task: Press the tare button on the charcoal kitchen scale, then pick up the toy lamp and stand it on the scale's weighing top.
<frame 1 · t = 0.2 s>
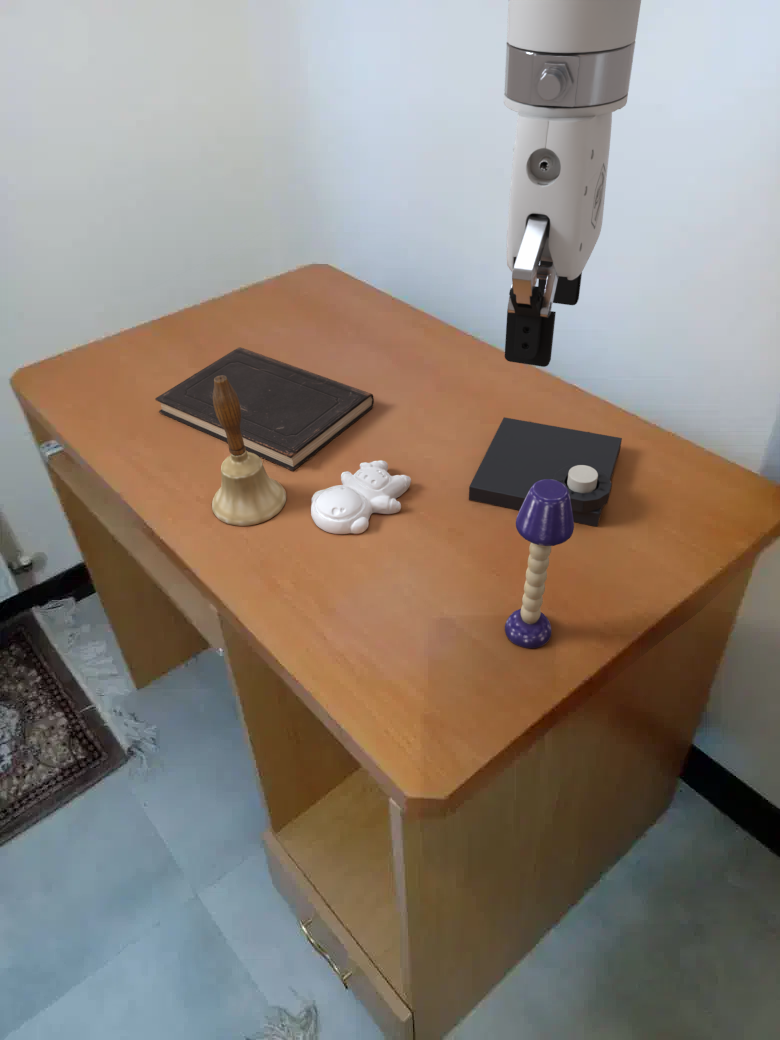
hand: (543, 330, 59), 27 cm above the table, tool pointing down, fingers open, 9 cm apart
hand bell: (249, 503, 88), on the table
hardcover book: (266, 411, 102), on the table
tare button: (582, 479, 82), point 4 cm above the table, slide at 0.1 cm
scale: (546, 474, 89), on the table
toy lamp: (531, 632, 72), on the table
white flat figure: (362, 503, 87), on the table
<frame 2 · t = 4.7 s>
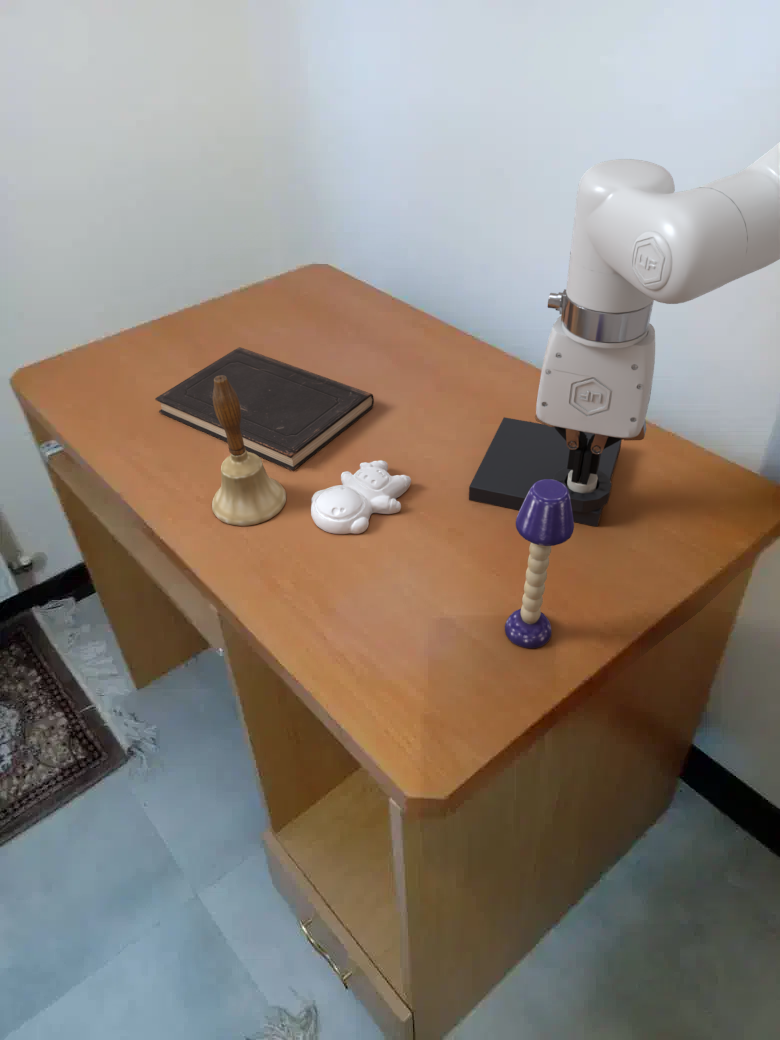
hand: (581, 475, 82), 4 cm above the table, tool pointing down, fingers closed
tare button: (582, 482, 83), point 4 cm above the table, slide at -0.3 cm, touching gripper
everything else where it was.
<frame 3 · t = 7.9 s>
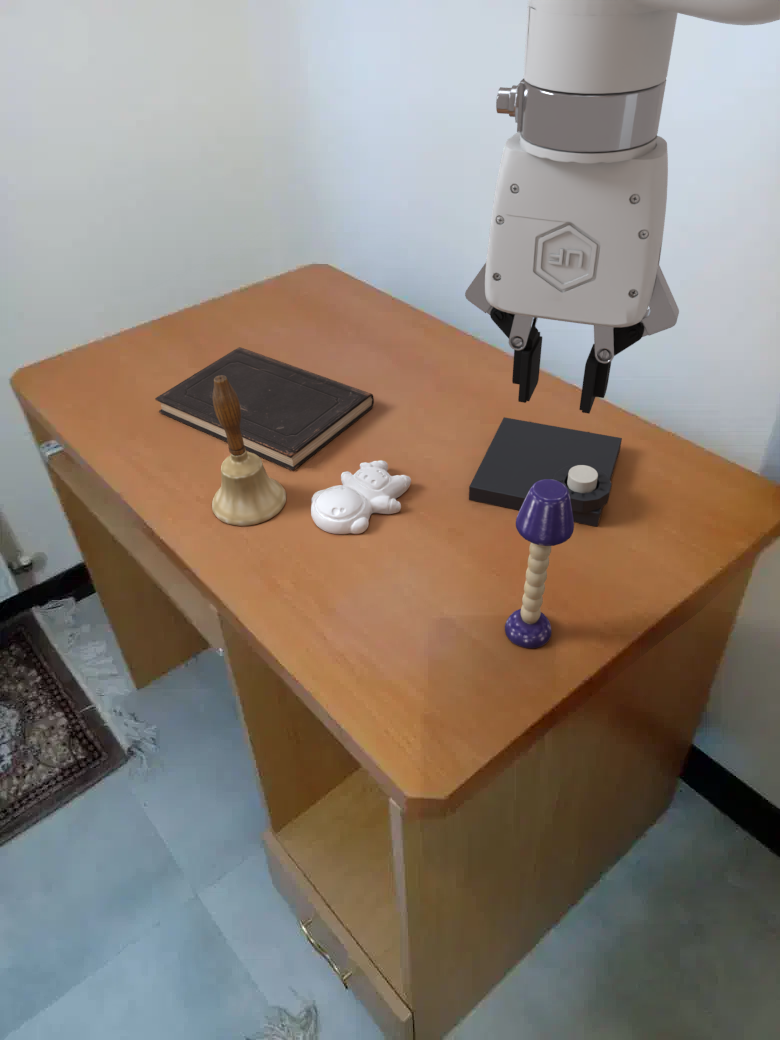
hand: (558, 395, 56), 25 cm above the table, tool pointing down, fingers open, 3 cm apart
tare button: (582, 479, 82), point 4 cm above the table, slide at 0.1 cm
everything else where it was.
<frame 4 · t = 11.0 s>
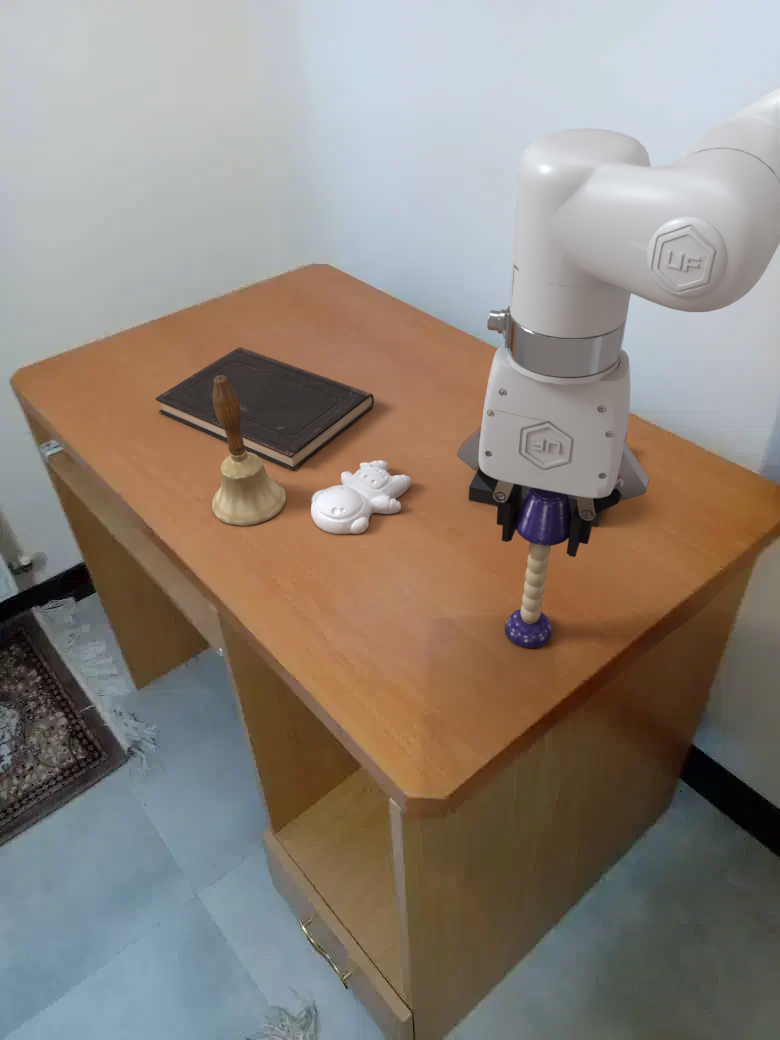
hand: (542, 536, 65), 12 cm above the table, tool pointing down, fingers closed on toy lamp, 4 cm apart
toy lamp: (531, 632, 72), on the table, touching gripper
everything else where it was.
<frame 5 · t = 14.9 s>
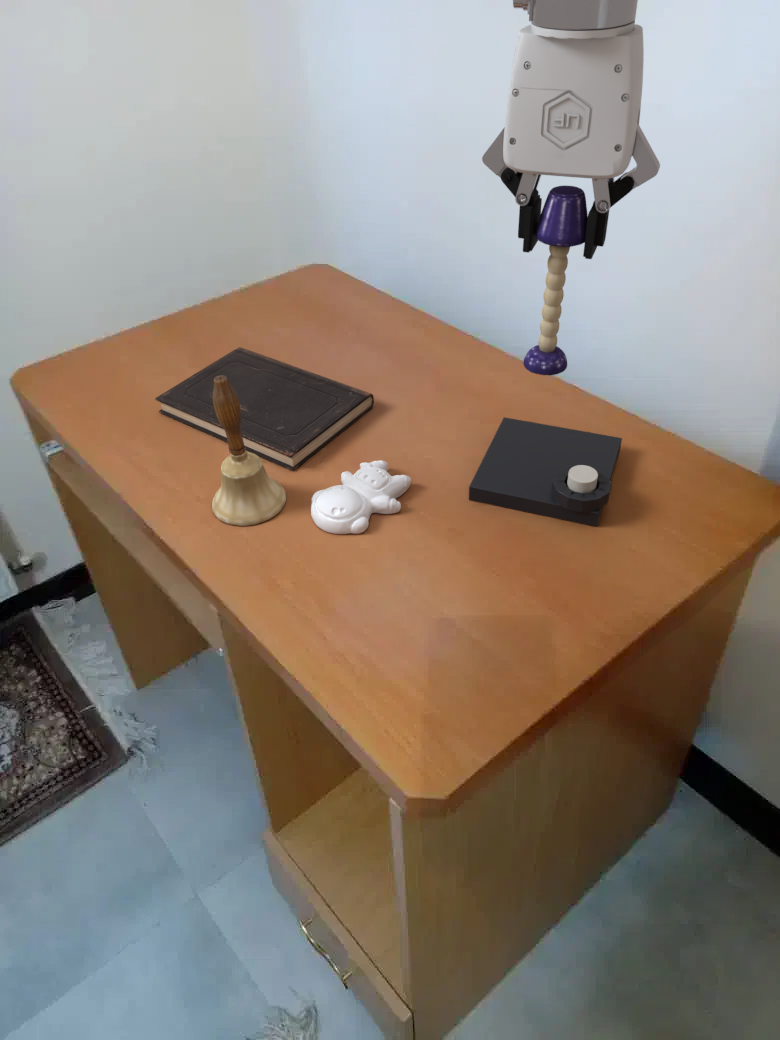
hand: (560, 247, 70), 27 cm above the table, tool pointing down, fingers closed on toy lamp, 4 cm apart
toy lamp: (548, 366, 78), point 15 cm above the table, touching gripper
everything else where it was.
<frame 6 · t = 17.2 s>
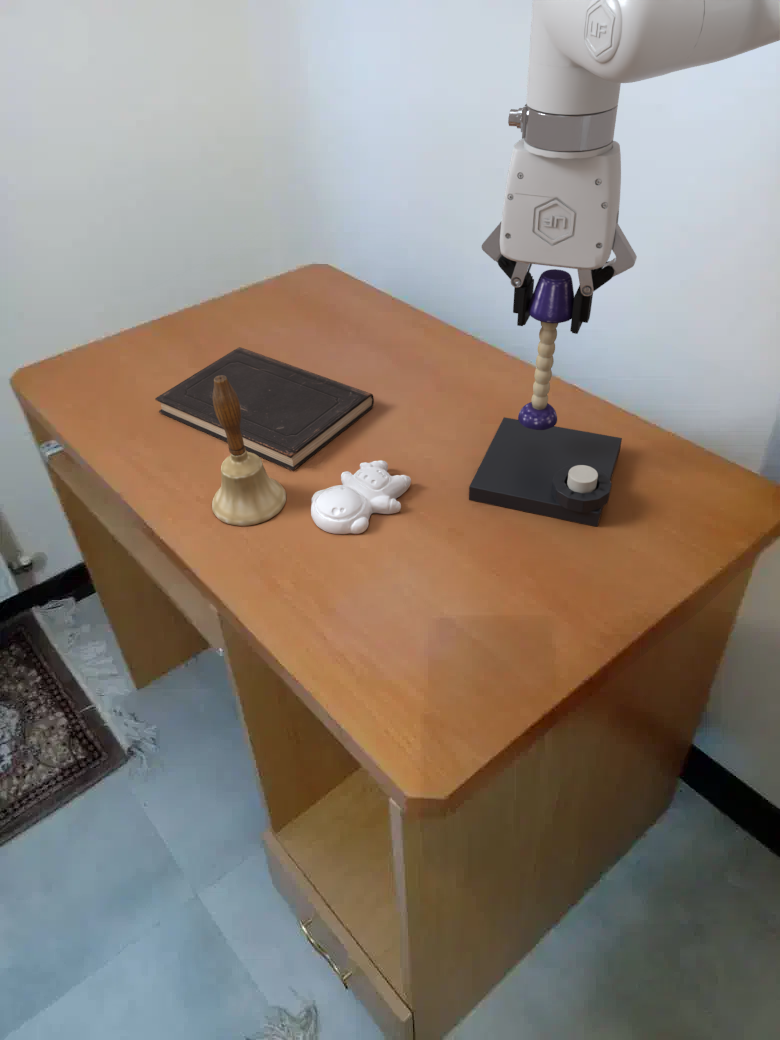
hand: (550, 321, 79), 18 cm above the table, tool pointing down, fingers closed on toy lamp, 4 cm apart
toy lamp: (540, 421, 87), point 6 cm above the table, touching gripper
everything else where it was.
when the fingers open (14 cm above the table, at t = 18.9 s): toy lamp stays where it is, resting on scale.
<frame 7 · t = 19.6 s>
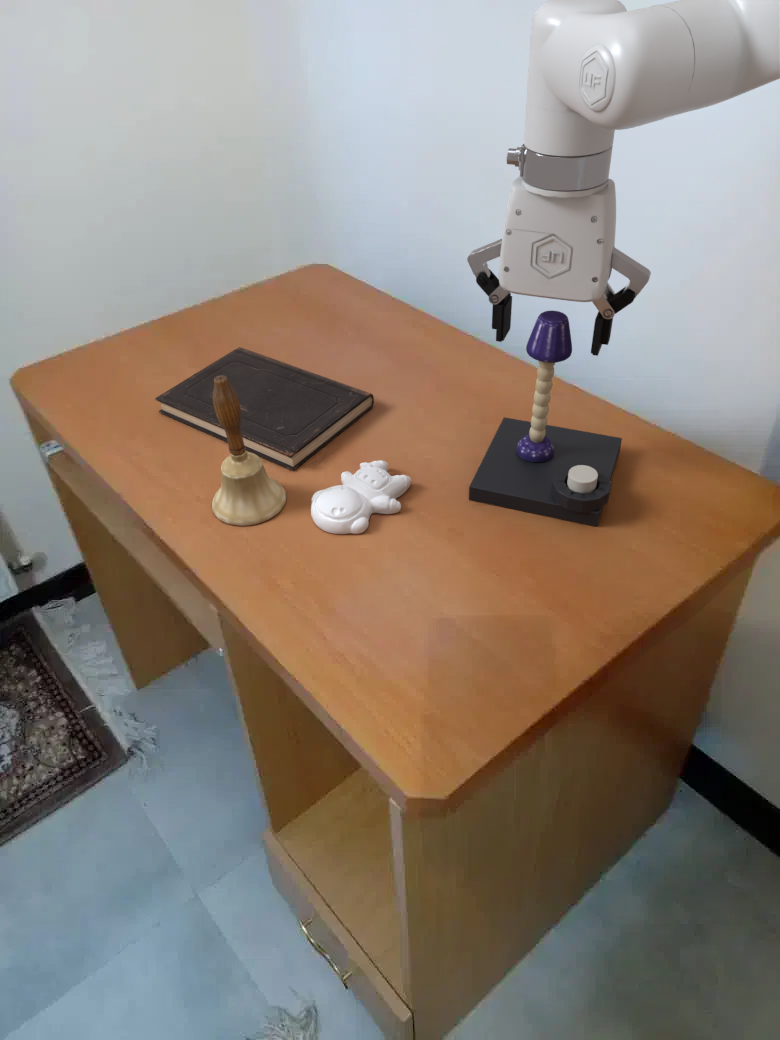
hand: (549, 342, 80), 16 cm above the table, tool pointing down, fingers open, 9 cm apart
toy lamp: (538, 453, 90), point 2 cm above the table, touching scale
everything else where it was.
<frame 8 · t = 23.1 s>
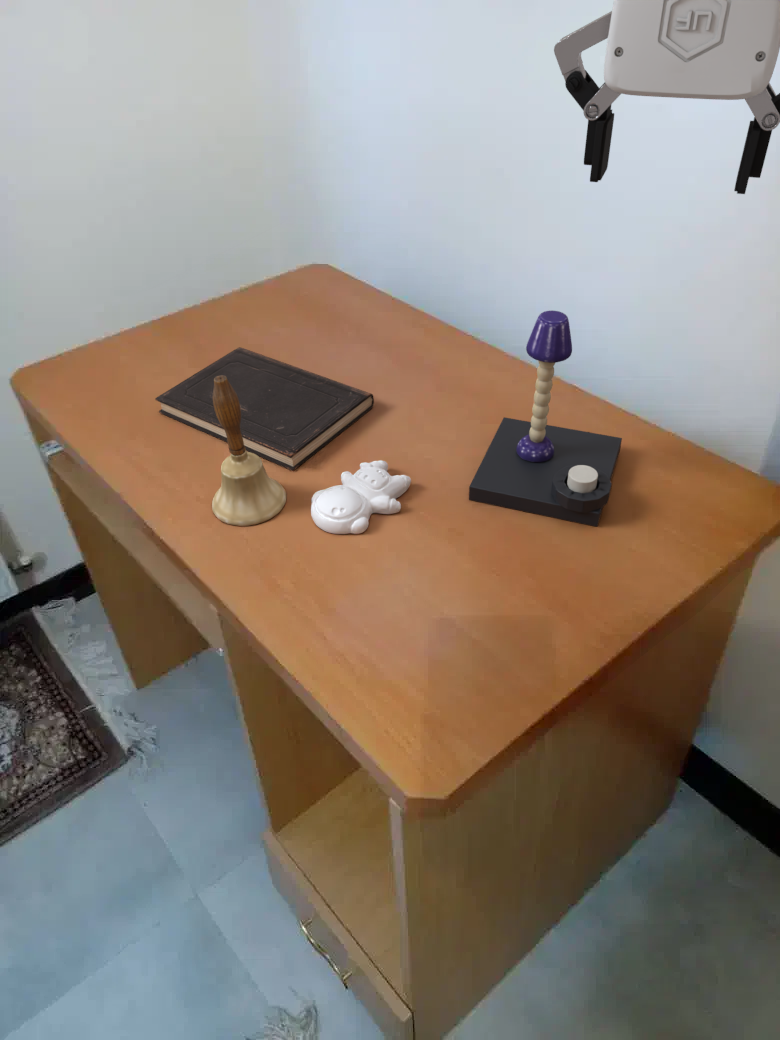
hand: (667, 181, 55), 36 cm above the table, tool pointing down, fingers open, 9 cm apart
nothing on the table moved.
at the end: tare button pushed in 0.9 cm at the most during the clip, back to where it started at the end; toy lamp inside the target area on the scale (2.0 cm from its centre), point 1.7 cm above the scale's base; toy lamp touching scale; toy lamp tilted 0° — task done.
